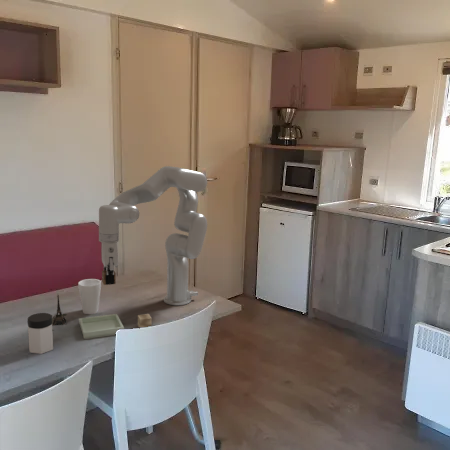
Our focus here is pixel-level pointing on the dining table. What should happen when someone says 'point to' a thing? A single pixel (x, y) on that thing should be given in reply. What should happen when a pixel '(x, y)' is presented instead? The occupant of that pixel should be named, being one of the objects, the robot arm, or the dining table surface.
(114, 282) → the walnut block
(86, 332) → the tray
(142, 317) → the maple block
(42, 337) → the jar
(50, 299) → the dining table surface
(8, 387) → the dining table surface
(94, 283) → the foam cup
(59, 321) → the eiffel tower figurine
